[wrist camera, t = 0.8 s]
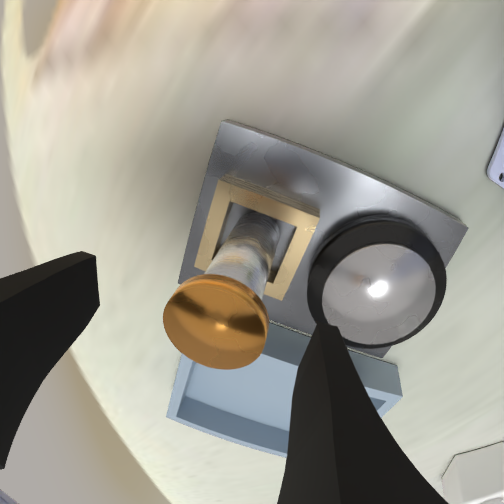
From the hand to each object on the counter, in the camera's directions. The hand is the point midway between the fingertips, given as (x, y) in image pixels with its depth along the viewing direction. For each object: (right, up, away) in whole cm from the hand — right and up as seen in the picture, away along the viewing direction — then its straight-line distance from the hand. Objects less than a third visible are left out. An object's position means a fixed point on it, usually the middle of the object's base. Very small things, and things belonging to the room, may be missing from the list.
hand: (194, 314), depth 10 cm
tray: (+4, -9, +14) cm, 17 cm away
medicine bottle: (+29, -24, +17) cm, 41 cm away
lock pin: (+2, +3, +7) cm, 8 cm away
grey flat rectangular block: (+5, +2, +8) cm, 10 cm away
